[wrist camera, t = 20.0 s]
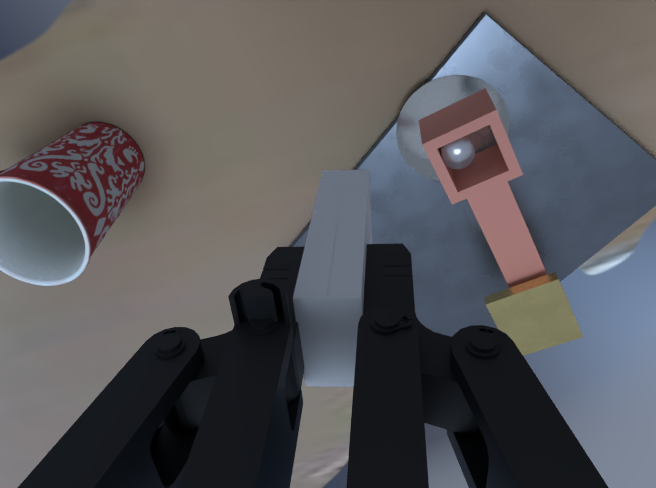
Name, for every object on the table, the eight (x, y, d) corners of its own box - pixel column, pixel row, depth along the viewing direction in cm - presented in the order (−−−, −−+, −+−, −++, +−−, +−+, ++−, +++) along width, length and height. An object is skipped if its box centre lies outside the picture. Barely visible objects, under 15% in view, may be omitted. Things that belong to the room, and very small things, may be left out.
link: (558, 266, 50) (574, 300, 46) (500, 287, 52) (510, 322, 48) (485, 88, 42) (496, 109, 38) (418, 120, 44) (422, 144, 40)
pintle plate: (478, 7, 40) (481, 10, 39) (676, 177, 46) (683, 184, 45) (277, 253, 54) (275, 260, 53) (449, 361, 59) (450, 369, 58)
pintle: (450, 110, 43) (457, 132, 39) (473, 128, 44) (482, 151, 40) (430, 133, 44) (435, 157, 40) (452, 150, 45) (459, 175, 41)
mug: (151, 116, 47) (76, 185, 36) (160, 207, 52) (97, 293, 41) (9, 100, 48) (-109, 164, 36) (32, 192, 52) (-66, 274, 41)
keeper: (472, 251, 51) (485, 304, 45) (535, 227, 49) (558, 279, 43) (497, 301, 54) (513, 358, 48) (557, 280, 52) (583, 336, 46)
